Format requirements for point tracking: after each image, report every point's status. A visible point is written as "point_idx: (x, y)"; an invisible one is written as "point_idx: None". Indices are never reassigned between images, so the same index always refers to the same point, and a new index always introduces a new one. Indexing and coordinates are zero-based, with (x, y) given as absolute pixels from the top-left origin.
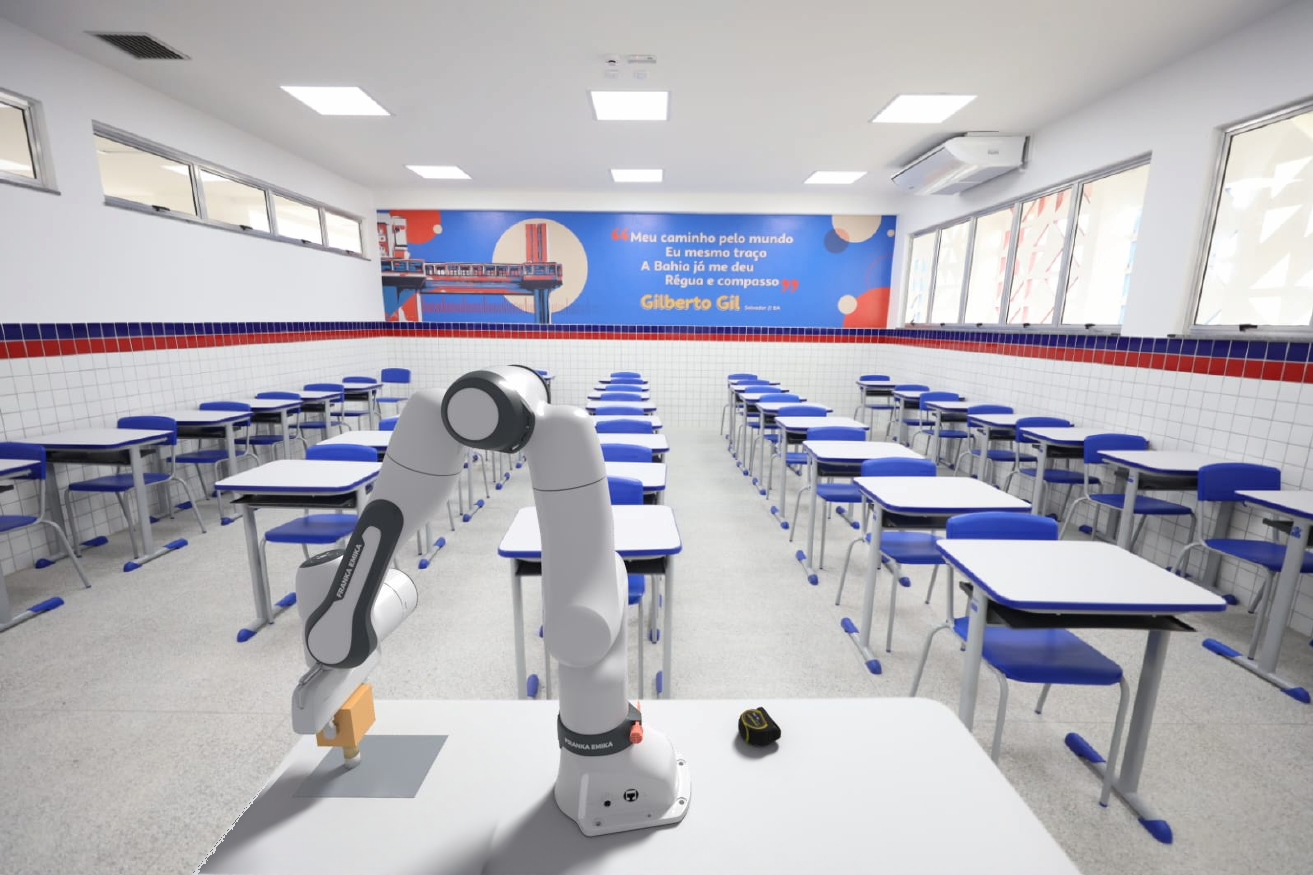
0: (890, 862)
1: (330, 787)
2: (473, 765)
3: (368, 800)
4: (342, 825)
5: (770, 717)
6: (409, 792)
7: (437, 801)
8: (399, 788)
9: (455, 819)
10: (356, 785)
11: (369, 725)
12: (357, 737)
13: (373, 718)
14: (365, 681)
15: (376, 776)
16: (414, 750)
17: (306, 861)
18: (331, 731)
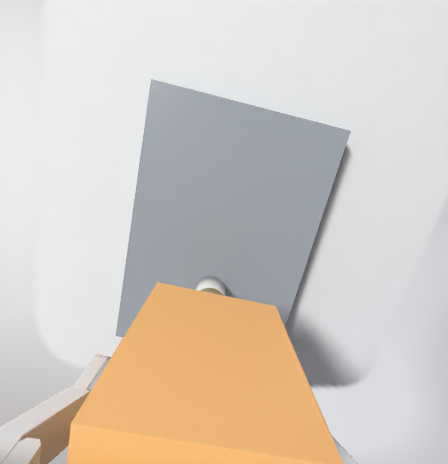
0: None
1: None
2: (254, 4)
3: None
4: (342, 262)
5: None
6: (332, 146)
7: (344, 85)
8: (311, 172)
9: (410, 31)
10: (276, 265)
11: (192, 293)
12: (263, 314)
13: (163, 291)
14: (10, 445)
15: (260, 232)
16: (194, 164)
17: (398, 293)
18: None
